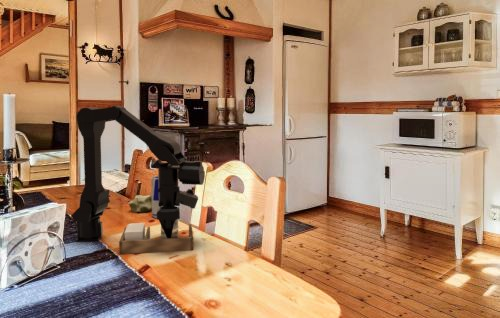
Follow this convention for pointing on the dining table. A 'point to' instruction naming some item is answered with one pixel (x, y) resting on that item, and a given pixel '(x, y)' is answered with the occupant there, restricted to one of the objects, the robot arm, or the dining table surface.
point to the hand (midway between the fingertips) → (169, 235)
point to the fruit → (141, 203)
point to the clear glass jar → (174, 232)
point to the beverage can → (155, 195)
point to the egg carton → (135, 231)
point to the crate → (155, 244)
